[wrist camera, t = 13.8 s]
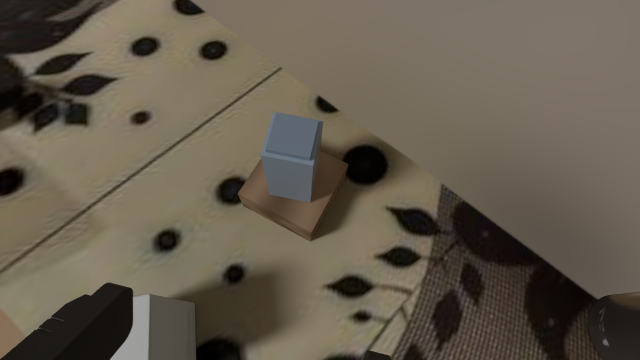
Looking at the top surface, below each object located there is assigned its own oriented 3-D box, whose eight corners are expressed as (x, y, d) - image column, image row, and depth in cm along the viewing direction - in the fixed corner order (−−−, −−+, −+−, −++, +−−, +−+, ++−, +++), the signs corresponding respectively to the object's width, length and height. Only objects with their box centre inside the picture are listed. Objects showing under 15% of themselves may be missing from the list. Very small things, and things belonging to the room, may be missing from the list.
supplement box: (196, 301, 40) (153, 291, 29) (197, 371, 37) (150, 393, 26) (130, 311, 39) (59, 306, 28) (127, 384, 37) (45, 412, 25)
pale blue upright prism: (318, 166, 43) (323, 117, 33) (310, 202, 41) (313, 162, 31) (279, 158, 43) (273, 108, 33) (269, 194, 41) (259, 152, 31)
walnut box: (344, 179, 48) (348, 164, 43) (310, 242, 44) (311, 232, 39) (282, 149, 49) (279, 130, 44) (244, 206, 45) (237, 193, 41)
